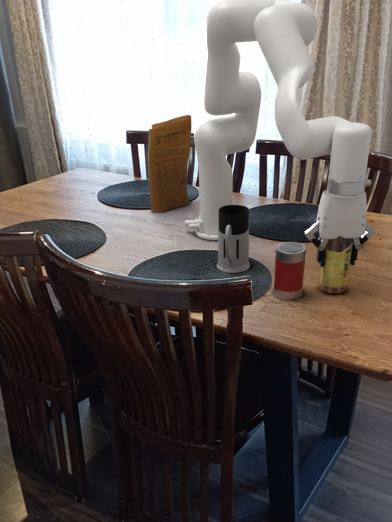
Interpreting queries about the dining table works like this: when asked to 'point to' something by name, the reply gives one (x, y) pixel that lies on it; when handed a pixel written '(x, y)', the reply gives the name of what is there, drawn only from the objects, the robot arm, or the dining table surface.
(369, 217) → the dining table surface
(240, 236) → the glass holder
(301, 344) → the dining table surface
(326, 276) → the sauce bottle
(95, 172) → the dining table surface
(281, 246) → the can
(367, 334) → the dining table surface
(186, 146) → the pancake mix bag
